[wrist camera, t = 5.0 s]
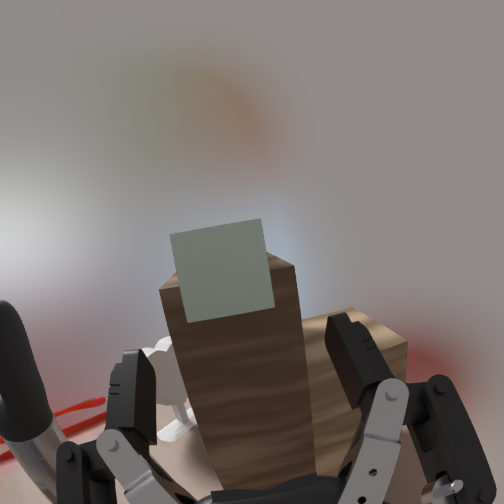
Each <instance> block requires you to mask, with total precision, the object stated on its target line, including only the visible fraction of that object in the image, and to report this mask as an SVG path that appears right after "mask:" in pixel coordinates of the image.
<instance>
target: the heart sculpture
mask: <svg viewBox="0 0 504 504" xmlns="http://www.w3.org/2000/svg"><path fill="white" fill-rule="evenodd" d="M142 350H143V352H144V353H145V355H146V357H147V358H148V360H149V361H150V363H151V364H152V366H153V368H154V370H155V374H156V404H162V405H172V407H173V410H174V413H175V415H176V418H177V419H175V420H174V421H173V422H171V423H170V424H169V425H167V426H166V427H165V428H163V429H162V430H161V431H159V432H158V433H157V436H158V437H159V439H160V440H162V441H167V442H175V441H176V440H177V439H178V438H180V437H181V436H182V435H183V434H184V433H186V432H187V431H188V430H189V429H191V428H192V427H193V426H194V425H195V424H196V423H197V422H196V419H195V416H194V413H193V410H192V407H191V408H189V409H188V410H187V411H186V409H185V406H184V404H185V401H186V399H187V397H188V395H187V392H186V389H185V386H184V382H183V379H182V376H181V373H180V369H179V366H178V362H177V359H176V356H175V352H174V348H173V345H172V341H171V337H170V336H168V337H165V338H163V339H160V341H159V342H158V343H157V345H156V346H155V348H154V349H152V348H143V349H142Z"/></svg>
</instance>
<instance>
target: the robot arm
mask: <svg viewBox="0 0 504 504" xmlns="http://www.w3.org/2000/svg"><path fill="white" fill-rule="evenodd" d="M324 339H325V346H326V349H327V352H328V354H329V356H330V359H331V361H332V363H333V366H334V368H335V370H336V373H337V375H338V377H339V380H340V382H341V385H342V387H343V389H344V392H345V394H346V397H347V399H348V401H349V404H350V406H351V409H352V410H354V409H356V408H360V410H361V413H362V414H361V417H360V420H359V423H358V426H357V429H356V431H355V434H354V437H353V440H352V442H351V445H350V448H349V450H348V452H347V454H346V456H345V458H344V460H343V462H342V464H341V467H340V469H339V471H338V474H337V476H336V477H334V476H328V475H317V472H315V473H312V474H308V475H304V476H300V477H296V478H292V479H289V480H287V481H285V482H283V483H281V484H279V485H277V486H274V487H272V488H270V489H268V490H246V489H230V490H221V491H211V495H209V496H207V497H204V498H202V499H201V500H199V501H197V500H196V499H195V498H194V497H193V496H192V495H191V494H190V493H189V492H187V491H186V490H185V489H184V488H183V487H181V486H180V485H179V484H178V483H176V482H175V481H174V480H173V479H172V478H171V477H170V476H169V474H168V473H167V472H166V471H165V470H164V469H163V468H162V467H161V466H160V465H159V463H158V462H157V461H156V460H155V459H154V458H153V457H152V455H151V454H150V453H149V445H157V432H156V374H155V370H154V368H153V366H152V364H151V363H150V361H149V360H148V358H147V357H146V355H145V353H144V352H143V350H142V349H135V350H126V351H124V353H123V360H122V363H117V364H116V365H115V367H114V369H113V371H112V372H111V376H110V387H109V395H108V403H107V414H106V426H105V430H104V431H103V432H102V433H101V434H100V435H99V436H98V438H97V439H96V440H94V441H90V442H87V443H84V444H80V445H77V444H75V443H74V442H71V441H68V440H67V438H66V437H65V435H64V433H63V432H62V430H61V428H60V426H59V425H58V423H57V421H56V419H55V417H54V415H53V413H52V411H51V410H50V407H49V404H48V400H47V396H46V392H45V388H44V385H43V382H42V379H41V377H40V374H39V371H38V369H37V366H36V363H35V360H34V356H33V353H32V350H31V347H30V343H29V340H28V337H27V333H26V331H25V328H24V325H23V323H22V320H21V318H20V316H19V314H18V313H17V311H16V310H15V308H14V307H13V306H12V305H11V304H10V303H8V302H7V301H4V300H0V394H1V397H2V399H1V400H0V435H1V436H2V438H3V440H4V441H5V443H6V444H7V446H8V447H9V449H10V450H11V452H12V453H13V455H14V456H15V458H16V459H17V461H18V462H19V463H20V465H21V466H22V467H23V469H24V470H25V472H26V473H27V475H28V476H29V477H30V479H31V480H32V481H33V482H34V484H35V485H36V486H37V487H38V488H39V490H40V491H41V492H42V493H43V494H44V495H45V497H46V498H47V499H48V500H49V501H50V502H51V503H52V504H117V498H116V489H115V478H116V479H117V480H118V481H119V483H120V484H121V485H122V487H123V488H124V490H125V492H124V495H125V497H126V499H127V500H128V501H129V503H130V504H389V503H387V502H385V501H383V500H384V497H385V495H386V492H387V489H388V486H389V484H390V481H391V478H392V475H393V472H394V469H395V466H396V462H397V459H398V456H399V452H400V448H401V443H400V442H399V436H400V432H401V429H402V425H407V427H408V430H409V432H410V435H411V438H412V440H413V443H414V446H415V448H416V451H417V454H418V457H419V460H420V462H421V465H422V468H423V471H424V474H425V477H426V480H427V483H428V484H427V485H426V486H425V487H424V489H423V490H422V493H421V504H492V503H493V501H494V499H495V497H496V485H495V482H494V479H493V476H492V473H491V470H490V467H489V464H488V462H487V459H486V456H485V454H484V451H483V449H482V446H481V444H480V441H479V439H478V436H477V434H476V432H475V429H474V427H473V425H472V423H471V420H470V418H469V416H468V413H467V411H466V409H465V407H464V405H463V403H462V401H461V399H460V397H459V395H458V393H457V391H456V389H455V387H454V385H453V383H452V381H451V380H450V379H449V378H448V377H446V376H444V375H434V376H432V377H431V378H430V379H429V380H428V381H427V382H421V383H409V384H408V383H404V382H402V381H401V380H398V379H397V378H395V377H394V375H393V374H392V372H391V370H390V368H389V367H388V365H387V363H386V361H385V359H384V357H383V355H382V354H381V352H380V350H379V348H378V347H377V345H376V343H375V341H374V340H373V337H372V336H371V334H370V332H369V330H368V329H367V328H366V327H365V326H364V325H363V324H362V323H360V322H359V321H356V322H351V320H350V318H349V316H348V315H347V313H346V312H342V313H338V314H334V315H330V316H328V318H327V324H326V331H325V337H324Z"/></svg>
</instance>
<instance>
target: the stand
mask: <svg viewBox="0 0 504 504" xmlns="http://www.w3.org/2000/svg"><path fill="white" fill-rule="evenodd" d="M266 253H267V259H268V265H269V272H270V278H271V284H272V291H273V297H274V303H275V307H274V308H269V309H263V310H258V311H253V312H248V313H242V314H237V315H231V316H226V317H220V318H214V319H208V320H202V321H196V322H190V323H188V322H187V318H186V314H185V309H184V305H183V300H182V296H181V291H180V286H179V282H178V277H177V272H176V273H175V274H174V275H173V276H172V277H171V278H170V279H169V280H168V281H167V282H166V283H165V284H164V285H163V286H162V287H161V288H160V289H159V292H160V296H161V301H162V305H163V309H164V313H165V318H166V321H167V326H168V329H169V333H170V337H171V341H172V345H173V348H174V352H175V356H176V359H177V362H178V366H179V369H180V373H181V376H182V379H183V382H184V386H185V389H186V392H187V395H188V398H189V401H190V404H191V407H192V410H193V413H194V416H195V419H196V422H197V424H198V427H199V430H200V433H201V435H202V438H203V441H204V443H205V446H206V448H207V451H208V453H209V456H210V458H211V461H212V463H213V466H214V468H215V471H216V473H217V475H218V478H219V480H220V482H221V485H222V487H223V489H224V490H230V489H246V490H268V489H270V488H272V487H274V486H277V485H279V484H281V483H283V482H285V481H287V480H289V479H292V478H296V477H300V476H304V475H308V474H312V473H315V472H317V475H328V476H334V477H336V476H337V474H338V471H339V469H340V467H341V464H342V462H343V460H344V458H345V456H346V454H347V452H348V450H349V448H350V445H351V442H352V440H353V437H354V434H355V431H356V429H357V426H358V423H359V420H360V417H361V414H362V413H361V410H360V408H356V409H354V410H352V409H351V406H350V404H349V401H348V399H347V397H346V394H345V392H344V389H343V387H342V385H341V382H340V380H339V377H338V375H337V373H336V370H335V368H334V366H333V363H332V361H331V359H330V356H329V354H328V352H327V349H326V346H325V339H324V337H325V331H326V324H327V318H328V316H330V315H334V314H338V313H342V312H346V313H347V315H348V316H349V318H350V320H351V322H356V321H359V322H360V323H362V324H363V325H364V326H365V327H366V328H367V329H368V330H369V332H370V334H371V336H372V337H373V340H374V341H375V343H376V345H377V347H378V348H379V350H380V352H381V354H382V355H383V357H384V359H385V361H386V363H387V365H388V367H389V368H390V370H391V372H392V374H393V375H394V377H395V378H397V379H398V380H401V381H402V382H404V383H405V379H406V366H407V346H408V341H407V340H406V339H404V338H402V337H401V336H399V335H397V334H396V333H394V332H392V331H391V330H389V329H387V328H386V327H384V326H382V325H381V324H379V323H377V322H376V321H374V320H372V319H371V318H369V317H367V316H366V315H364V314H362V313H361V312H359V311H357V310H356V309H354V308H348V309H344V310H341V311H336V312H333V313H328V314H324V315H320V316H316V317H312V318H307V319H303V320H302V319H301V311H300V304H299V296H298V289H297V282H296V275H295V268H294V265H292V264H290V263H288V262H286V261H284V260H282V259H280V258H278V257H276V256H274V255H272V254H270V253H268V252H266Z"/></svg>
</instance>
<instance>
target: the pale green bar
mask: <svg viewBox="0 0 504 504" xmlns="http://www.w3.org/2000/svg"><path fill="white" fill-rule="evenodd" d="M170 239H171V245H172V250H173V256H174V261H175V267H176V272H177V277H178V282H179V286H180V291H181V296H182V300H183V305H184V309H185V314H186V318H187V322H188V323H190V322H196V321H202V320H208V319H214V318H220V317H226V316H231V315H237V314H242V313H248V312H253V311H258V310H263V309H269V308H274V307H275V303H274V297H273V291H272V284H271V278H270V272H269V265H268V259H267V253H266V247H265V241H264V234H263V229H262V222H261V219H254V220H248V221H242V222H237V223H230V224H225V225H219V226H213V227H207V228H202V229H196V230H191V231H185V232H180V233H175V234H170Z"/></svg>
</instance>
